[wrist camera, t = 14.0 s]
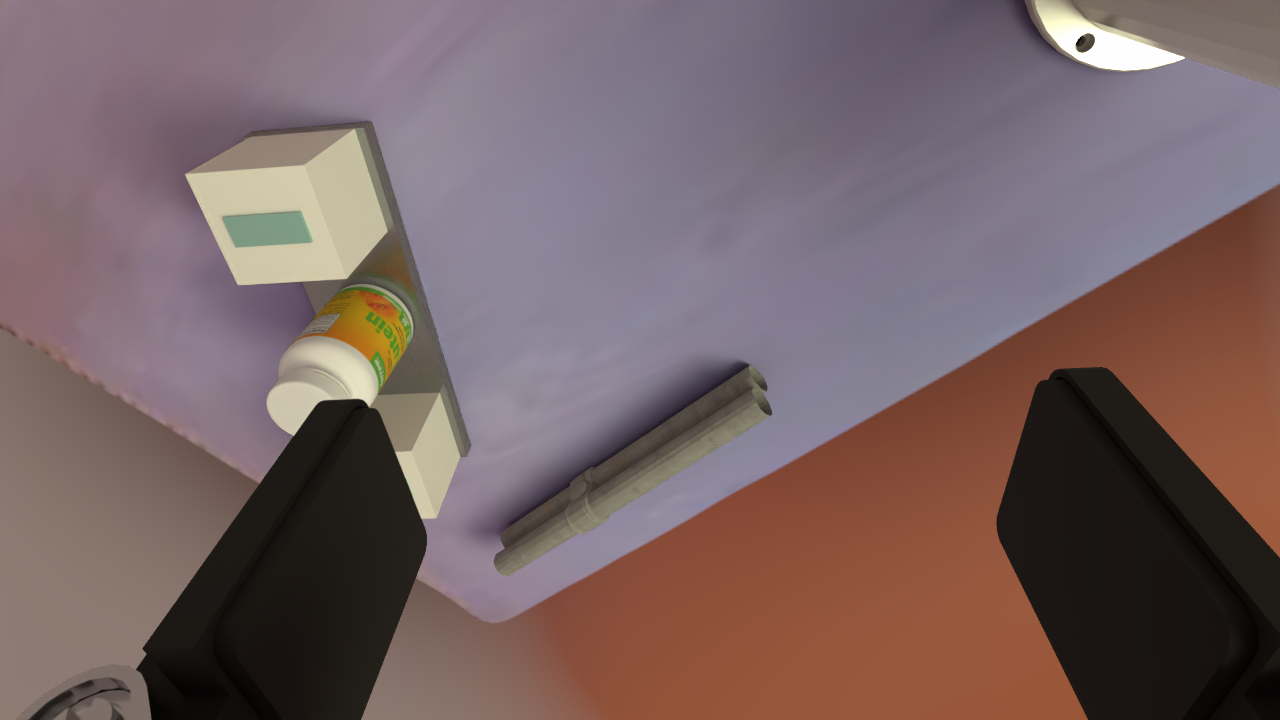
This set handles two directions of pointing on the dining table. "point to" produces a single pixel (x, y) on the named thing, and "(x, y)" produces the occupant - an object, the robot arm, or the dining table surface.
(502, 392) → the dining table surface
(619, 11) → the dining table surface
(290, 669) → the robot arm
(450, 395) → the rail
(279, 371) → the supplement bottle
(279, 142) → the block
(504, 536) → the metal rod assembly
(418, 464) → the module
